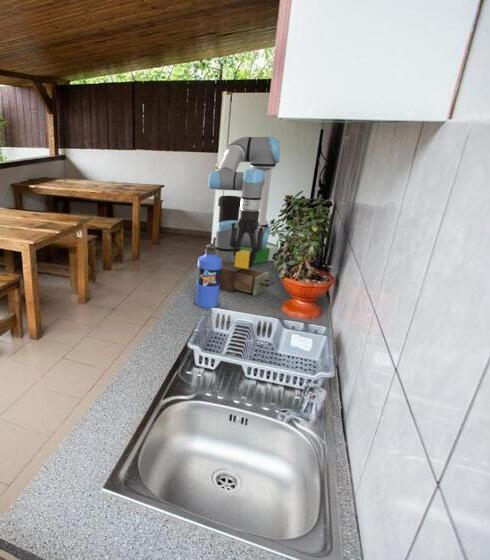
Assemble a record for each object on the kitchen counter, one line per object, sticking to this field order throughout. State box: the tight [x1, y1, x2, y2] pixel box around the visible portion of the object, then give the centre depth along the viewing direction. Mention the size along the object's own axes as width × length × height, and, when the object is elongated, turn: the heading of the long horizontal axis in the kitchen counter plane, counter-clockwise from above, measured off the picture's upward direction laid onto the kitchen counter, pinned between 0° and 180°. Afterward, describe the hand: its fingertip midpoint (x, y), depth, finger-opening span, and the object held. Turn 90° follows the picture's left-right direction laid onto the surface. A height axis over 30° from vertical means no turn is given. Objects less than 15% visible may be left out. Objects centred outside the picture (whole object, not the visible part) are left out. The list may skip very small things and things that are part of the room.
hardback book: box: [238, 241, 278, 265], centre depth 237 cm, size 18×7×24 cm
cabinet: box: [219, 260, 244, 293], centre depth 194 cm, size 15×13×10 cm
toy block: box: [235, 250, 251, 269], centre depth 175 cm, size 6×6×6 cm
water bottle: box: [194, 243, 222, 309], centre depth 170 cm, size 9×9×25 cm
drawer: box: [234, 268, 276, 297], centre depth 186 cm, size 18×11×8 cm, turn 49°
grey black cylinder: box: [212, 195, 241, 245], centre depth 263 cm, size 16×16×30 cm
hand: (243, 265), depth 176 cm, fingers closed on toy block, 5 cm apart
